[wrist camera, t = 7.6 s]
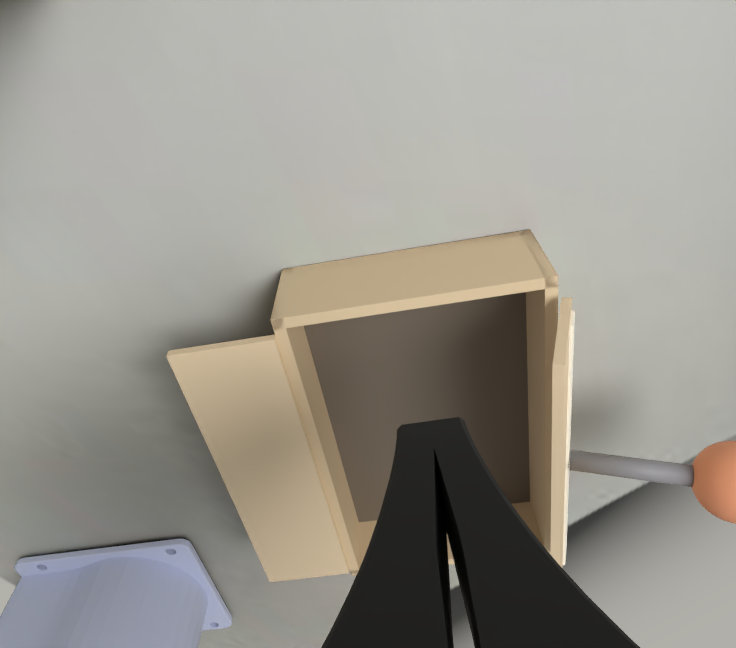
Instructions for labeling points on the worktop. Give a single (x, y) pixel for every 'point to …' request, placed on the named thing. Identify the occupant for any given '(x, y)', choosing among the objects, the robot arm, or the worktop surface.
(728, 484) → the flap
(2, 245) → the worktop surface
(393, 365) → the carton
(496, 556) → the robot arm
